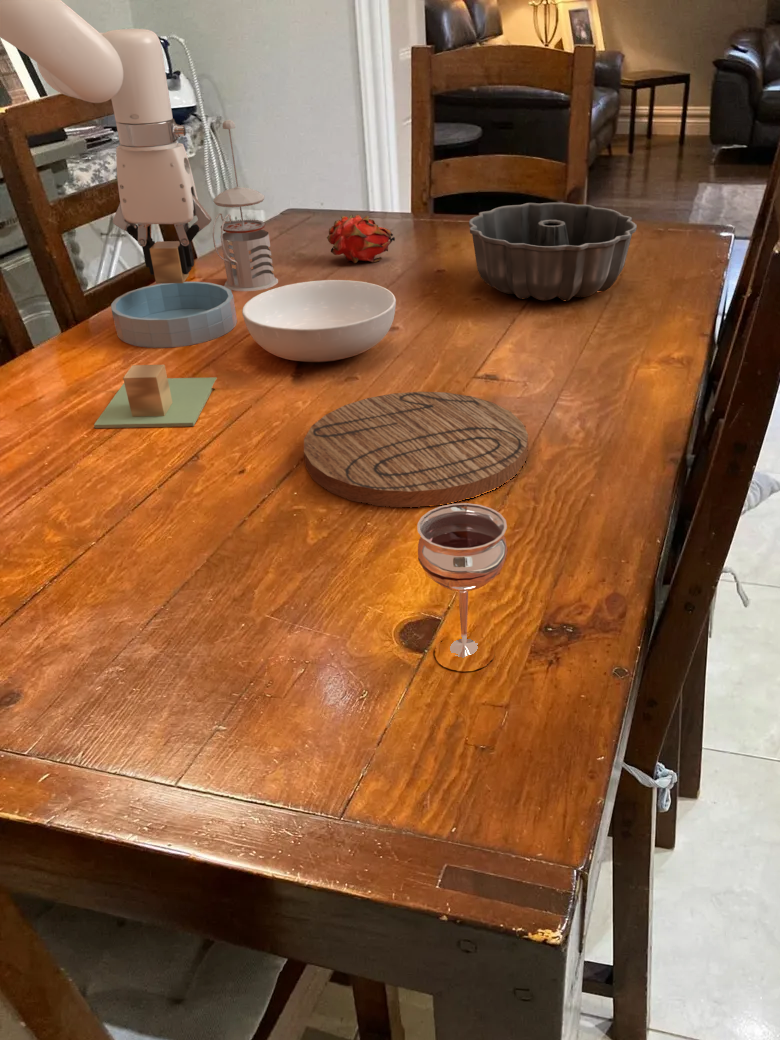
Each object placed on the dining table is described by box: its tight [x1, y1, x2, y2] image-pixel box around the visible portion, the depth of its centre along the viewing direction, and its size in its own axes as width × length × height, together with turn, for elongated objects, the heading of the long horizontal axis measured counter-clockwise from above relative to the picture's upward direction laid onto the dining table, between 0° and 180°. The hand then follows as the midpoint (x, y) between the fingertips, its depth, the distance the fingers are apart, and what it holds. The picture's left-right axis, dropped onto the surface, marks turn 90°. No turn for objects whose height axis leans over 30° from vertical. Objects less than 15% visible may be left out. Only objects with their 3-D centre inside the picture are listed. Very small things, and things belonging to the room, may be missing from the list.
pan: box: [110, 281, 238, 349], centre depth 138 cm, size 17×17×4 cm
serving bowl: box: [241, 279, 397, 363], centre depth 129 cm, size 21×21×7 cm
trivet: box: [303, 391, 529, 509], centre depth 105 cm, size 25×25×2 cm
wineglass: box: [416, 502, 508, 658], centre depth 72 cm, size 7×7×12 cm
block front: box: [122, 364, 173, 417], centre depth 114 cm, size 4×4×5 cm
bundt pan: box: [468, 202, 638, 302], centre depth 150 cm, size 26×26×10 cm
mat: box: [93, 376, 218, 429], centre depth 118 cm, size 12×14×1 cm
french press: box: [212, 119, 279, 292], centre depth 149 cm, size 10×12×25 cm
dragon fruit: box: [326, 214, 396, 264], centre depth 165 cm, size 8×8×12 cm
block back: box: [150, 240, 190, 285], centre depth 137 cm, size 4×4×5 cm
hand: (171, 270), depth 138 cm, fingers closed on block back, 4 cm apart
